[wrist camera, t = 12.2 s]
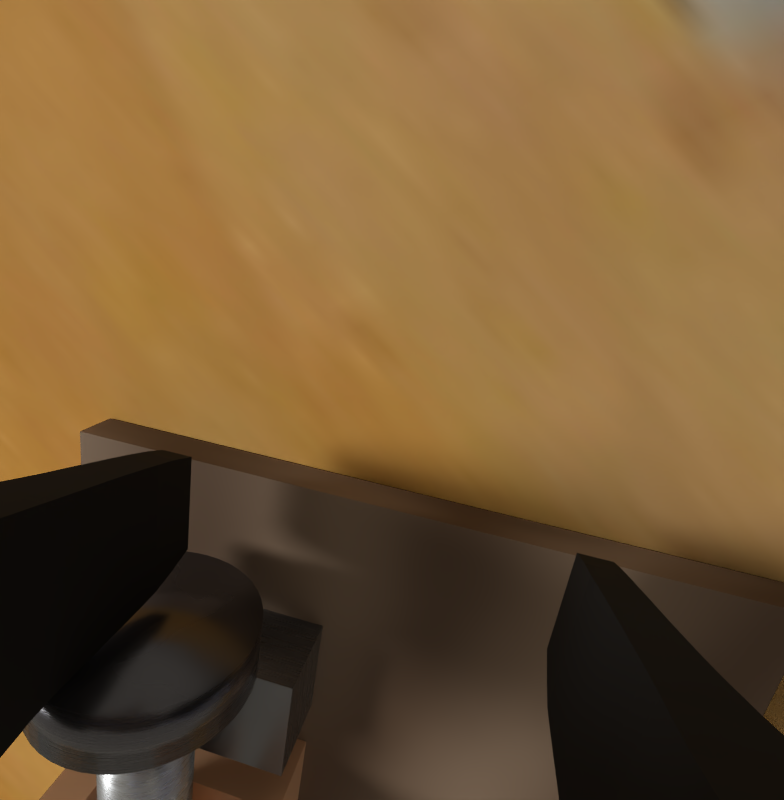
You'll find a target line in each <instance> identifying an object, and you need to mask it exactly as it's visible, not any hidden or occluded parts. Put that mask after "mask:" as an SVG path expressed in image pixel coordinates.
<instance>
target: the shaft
mask: <svg viewBox="0 0 784 800" xmlns="http://www.w3.org/2000/svg"><path fill="white" fill-rule="evenodd" d="M262 625H263V605H262V600H261V597H260V594H259V592H258V590H257V588H256V587H255V585H254V584H253V582H252V581H251V580H250V579H249V578H248V577H247V576H246V575H245V574H244V573H243V572H241V571H240V570H239V569H238V568H236V567H234V566H233V565H231V564H229V563H227V562H225V561H222V560H220V559H218V558H214V557H211V556H208V555H204V554H200V553H194V552H187V551H186V552H185V554H184V555H183V557H182V558H181V559H180V561H179V562H178V563H177V565H176V566H175V568H174V569H173V570H172V572H171V573H170V574H169V576H168V577H167V578H166V579H165V581H164V582H163V583H162V585H161V586H160V587H159V588H158V590H157V591H156V592H155V593H154V594H153V595H152V596H151V598H150V599H149V600H148V601H147V602H146V603H145V604H144V605H143V606H142V607H141V608H140V609H139V610H138V611H137V612H136V613H135V614H134V615H133V616H132V617H131V618H130V619H129V620H128V621H127V622H126V623H125V624H124V625H123V626H122V627H121V628H120V629H119V630H118V631H117V632H116V633H115V634H114V635H113V636H112V638H111V639H110V640H109V641H108V642H107V643H106V644H105V645H104V646H103V647H102V648H101V649H100V650H99V651H98V652H97V653H96V654H95V655H94V656H93V657H92V658H91V659H90V660H89V661H88V662H87V663H86V664H85V665H84V666H83V667H82V668H81V669H80V670H79V671H78V672H77V673H76V674H75V675H74V676H73V677H72V678H71V679H70V680H69V681H68V682H67V683H66V684H65V685H64V686H63V687H62V688H61V689H60V690H59V691H58V692H57V693H56V694H55V695H54V696H53V697H52V698H51V699H50V700H49V702H48V703H47V704H46V705H45V706H44V707H43V708H42V709H41V710H40V711H39V712H38V713H37V715H36V716H35V717H34V718H33V719H32V720H31V721H30V722H29V724H28V725H27V726H26V727H25V728H24V730H23V733H24V734H25V736H26V738H27V739H28V741H29V743H30V744H31V745H32V746H33V747H34V748H35V750H36V751H37V752H38V753H39V754H41V755H42V756H43V757H45V758H46V759H48V760H49V761H51V762H53V763H55V764H57V765H59V766H61V767H64V768H66V769H70V770H74V771H77V772H81V773H89V774H96V781H97V800H192V795H193V777H194V760H195V750H196V749H198V748H199V747H201V746H203V745H204V744H206V743H207V742H208V741H210V740H211V739H212V738H214V737H215V736H216V735H218V734H219V733H220V732H221V731H222V730H223V729H224V728H225V727H226V726H227V725H229V724H230V723H231V721H232V720H233V719H234V718H235V717H236V716H237V714H238V713H239V712H240V711H241V709H242V708H243V706H244V704H245V703H246V701H247V700H248V698H249V696H250V694H251V692H252V690H253V687H254V684H255V681H256V678H257V671H258V664H259V654H260V644H261V635H262Z"/></svg>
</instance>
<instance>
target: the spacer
mask: <svg viewBox="0 0 784 800" xmlns="http://www.w3.org/2000/svg"><path fill="white" fill-rule="evenodd" d="M305 746H306V741H303V740H300V739H297V740H296V743H295V745H294V747H293V750H292V752H291V754H290V757H289V759H288V762H287V764H286V766H285V769H284V771H283V773H282V776H279V775H276V774H273V773H270V772H267V771H264V770H261V769H258V768H255V767H252V766H249V765H246V764H244V763H241V762H238V761H235V760H232V759H229V758H226V757H223V756H220V755H217V754H214V753H211V752H208V751H205V750H202V749H199V748H198V749H196V750H195V760H194V777H193V795H192V800H298V795H299V788H300V781H301V774H302V767H303V760H304V753H305ZM39 800H97V781H96V774H89V773H81V772H77V771H74V770H70V769H65V770H64V771H63V772H62V773H61V774H60V776H59V777H58V778H57V779H56V780H55V782H54V783H53V784H52V785H51V786H50V788H49V789H48V790H47V791H46V792H45V793H44V795H43V796H42V797H41V798H40V799H39Z"/></svg>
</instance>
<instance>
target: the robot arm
mask: <svg viewBox="0 0 784 800" xmlns="http://www.w3.org/2000/svg"><path fill="white" fill-rule="evenodd" d="M191 462H192V457H190V456H186V455H182V454H178V453H174V452H170V451H166V450H156V451H147V452H141V453H135V454H130V455H125V456H120V457H115V458H110V459H105V460H101V461H96V462H92V463H87V464H83V465H78V466H74V467H69V468H65V469H60V470H56V471H51V472H47V473H42V474H37V475H32V476H27V477H22V478H17V479H12V480H7V481H2V482H0V757H1V756H2V755H3V754H4V752H5V751H6V750H7V749H8V748H9V746H10V745H11V744H12V743H13V742H14V740H15V739H16V738H17V737H18V736H19V734H20V733H21V732H22V731H23V730H24V728H25V727H26V726H27V725H28V724H29V722H30V721H31V720H32V719H33V718H34V717H35V716H36V715H37V713H38V712H39V711H40V710H41V709H42V708H43V707H44V706H45V705H46V704H47V703H48V702H49V700H50V699H51V698H52V697H53V696H54V695H55V694H56V693H57V692H58V691H59V690H60V689H61V688H62V687H63V686H64V685H65V684H66V683H67V682H68V681H69V680H70V679H71V678H72V677H73V676H74V675H75V674H76V673H77V672H78V671H79V670H80V669H81V668H82V667H83V666H84V665H85V664H86V663H87V662H88V661H89V660H90V659H91V658H92V657H93V656H94V655H95V654H96V653H97V652H98V651H99V650H100V649H101V648H102V647H103V646H104V645H105V644H106V643H107V642H108V641H109V640H110V639H111V638H112V636H113V635H114V634H115V633H116V632H117V631H118V630H119V629H120V628H121V627H122V626H123V625H124V624H125V623H126V622H127V621H128V620H129V619H130V618H131V617H132V616H133V615H134V614H135V613H136V612H137V611H138V610H139V609H140V608H141V607H142V606H143V605H144V604H145V603H146V602H147V601H148V600H149V599H150V598H151V596H152V595H153V594H154V593H155V592H156V591H157V590H158V588H159V587H160V586H161V585H162V583H163V582H164V581H165V579H166V578H167V577H168V576H169V574H170V573H171V572H172V570H173V569H174V568H175V566H176V565H177V563H178V562H179V561H180V559H181V558H182V557H183V555H184V554H185V552H186V551H187V550H188V535H189V511H190V487H191ZM547 709H548V718H549V726H550V734H551V742H552V750H553V758H554V765H555V773H556V780H557V788H558V795H559V800H784V735H783V734H782V733H780V732H779V731H778V730H777V729H776V728H775V727H774V726H773V725H772V724H771V723H770V722H769V721H767V720H766V719H765V718H764V717H763V716H762V715H761V714H760V713H759V712H758V711H757V710H756V709H755V708H754V707H753V706H752V705H751V704H750V703H749V702H748V701H747V700H746V699H745V698H744V697H743V696H742V695H741V694H740V693H739V692H737V691H736V690H735V689H734V688H733V687H732V686H731V685H730V684H729V683H728V682H727V681H726V680H725V679H724V678H723V677H722V676H721V675H720V674H719V673H718V672H717V671H716V670H715V669H714V668H713V667H712V666H711V665H710V664H709V662H708V661H707V660H706V659H705V658H704V657H703V656H702V655H701V654H700V653H699V652H698V651H697V650H696V649H695V648H694V647H693V646H692V645H691V644H690V643H689V642H688V640H687V639H686V638H685V637H684V636H683V635H682V634H681V633H680V632H679V631H678V630H677V629H676V628H675V627H674V625H673V624H672V623H671V622H670V621H669V620H668V619H667V618H666V617H665V616H664V615H663V613H662V612H661V611H660V610H659V609H658V608H657V607H656V606H655V605H654V603H653V602H652V601H651V600H650V599H649V598H648V597H647V596H646V595H645V594H644V592H643V591H642V590H641V589H640V588H639V587H638V586H637V585H636V584H635V583H634V581H633V580H632V579H631V578H630V577H629V576H628V575H627V574H626V573H625V572H624V571H623V570H622V569H621V568H620V567H619V566H618V565H617V564H616V563H615V562H612V561H608V560H604V559H600V558H596V557H592V556H588V555H584V554H580V553H577V554H576V558H575V561H574V564H573V567H572V570H571V574H570V577H569V580H568V583H567V586H566V590H565V593H564V596H563V599H562V602H561V605H560V609H559V612H558V615H557V618H556V621H555V625H554V628H553V631H552V634H551V637H550V641H549V644H548V647H547Z"/></svg>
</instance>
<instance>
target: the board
mask: <svg viewBox="0 0 784 800" xmlns="http://www.w3.org/2000/svg"><path fill="white" fill-rule="evenodd" d="M80 440H81V465H83V464H87V463H92V462H96V461H101V460H105V459H110V458H115V457H120V456H125V455H130V454H135V453H141V452H147V451H156V450H166V451H170V452H174V453H178V454H182V455H186V456H190V457H192V462H191V487H190V511H189V535H188V550H187V552H194V553H200V554H204V555H208V556H211V557H214V558H218V559H220V560H222V561H225V562H227V563H229V564H231V565H233V566H234V567H236V568H238V569H239V570H240V571H241V572H243V573H244V574H245V575H246V576H247V577H248V578H249V579H250V580H251V581H252V582H253V584H254V585H255V587H256V588H257V590H258V592H259V594H260V597H261V600H262V605H263V609H267V610H270V611H273V612H277V613H280V614H284V615H287V616H291V617H294V618H298V619H301V620H304V621H308V622H311V623H315V624H318V625H322V626H323V629H322V635H321V642H320V649H319V656H318V663H317V670H316V677H315V684H314V691H313V697H312V704H311V707H310V710H309V712H308V714H307V717H306V719H305V721H304V724H303V726H302V728H301V731H300V733H299V736H298V738H297V739H300V740H303V741H306V746H305V753H304V760H303V767H302V774H301V781H300V788H299V795H298V800H559V795H558V788H557V780H556V773H555V765H554V758H553V750H552V742H551V734H550V726H549V718H548V709H547V647H548V644H549V641H550V637H551V634H552V631H553V628H554V625H555V621H556V618H557V615H558V612H559V609H560V605H561V602H562V599H563V596H564V593H565V590H566V586H567V583H568V580H569V577H570V574H571V570H572V567H573V564H574V561H575V558H576V554H577V553H580V554H584V555H588V556H592V557H596V558H600V559H604V560H608V561H612V562H615V563H616V564H617V565H618V566H619V567H620V568H621V569H622V570H623V571H624V572H625V573H626V574H627V575H628V576H629V577H630V578H631V579H632V580H633V581H634V583H635V584H636V585H637V586H638V587H639V588H640V589H641V590H642V591H643V592H644V594H645V595H646V596H647V597H648V598H649V599H650V600H651V601H652V602H653V603H654V605H655V606H656V607H657V608H658V609H659V610H660V611H661V612H662V613H663V615H664V616H665V617H666V618H667V619H668V620H669V621H670V622H671V623H672V624H673V625H674V627H675V628H676V629H677V630H678V631H679V632H680V633H681V634H682V635H683V636H684V637H685V638H686V639H687V640H688V642H689V643H690V644H691V645H692V646H693V647H694V648H695V649H696V650H697V651H698V652H699V653H700V654H701V655H702V656H703V657H704V658H705V659H706V660H707V661H708V662H709V664H710V665H711V666H712V667H713V668H714V669H715V670H716V671H717V672H718V673H719V674H720V675H721V676H722V677H723V678H724V679H725V680H726V681H727V682H728V683H729V684H730V685H731V686H732V687H733V688H734V689H735V690H736V691H737V692H739V693H740V694H741V695H742V696H743V697H744V698H745V699H746V700H747V701H748V702H749V703H750V704H751V705H752V706H753V707H754V708H755V709H756V710H757V711H758V712H759V713H760V714H761V715H762V716H763V715H764V713H765V711H766V709H767V707H768V705H769V703H770V701H771V699H772V697H773V695H774V693H775V691H776V689H777V687H778V685H779V683H780V681H781V679H782V677H783V675H784V583H783V582H779V581H774V580H770V579H766V578H762V577H758V576H754V575H750V574H746V573H742V572H738V571H733V570H729V569H725V568H721V567H717V566H713V565H709V564H705V563H701V562H697V561H693V560H688V559H684V558H680V557H676V556H672V555H668V554H664V553H660V552H656V551H652V550H647V549H643V548H639V547H635V546H631V545H627V544H623V543H619V542H615V541H611V540H606V539H602V538H598V537H594V536H590V535H586V534H582V533H578V532H574V531H570V530H565V529H561V528H557V527H553V526H549V525H545V524H541V523H537V522H533V521H529V520H524V519H520V518H516V517H512V516H508V515H504V514H500V513H496V512H492V511H488V510H483V509H479V508H475V507H471V506H467V505H463V504H459V503H455V502H451V501H447V500H442V499H438V498H434V497H430V496H426V495H422V494H418V493H414V492H410V491H406V490H401V489H397V488H393V487H389V486H385V485H381V484H377V483H373V482H369V481H365V480H360V479H356V478H352V477H348V476H344V475H340V474H336V473H332V472H328V471H324V470H320V469H315V468H311V467H307V466H303V465H299V464H295V463H291V462H287V461H283V460H279V459H274V458H270V457H266V456H262V455H258V454H254V453H250V452H246V451H242V450H238V449H233V448H229V447H225V446H221V445H217V444H213V443H209V442H205V441H201V440H197V439H192V438H188V437H184V436H180V435H176V434H172V433H168V432H164V431H160V430H156V429H151V428H147V427H143V426H139V425H135V424H131V423H127V422H123V421H119V420H115V419H108V420H106V421H103V422H101V423H99V424H96V425H94V426H92V427H89V428H87V429H85V430H82V431H80Z"/></svg>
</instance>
